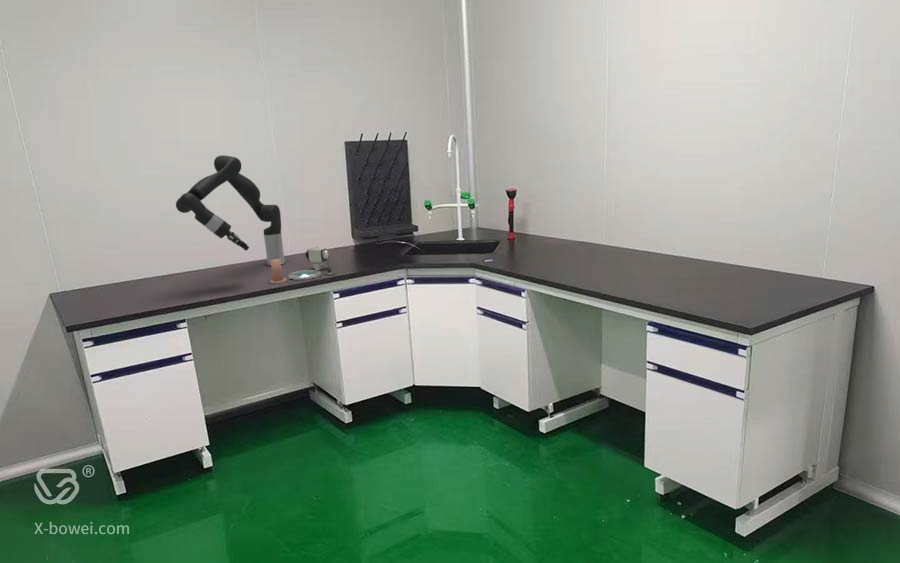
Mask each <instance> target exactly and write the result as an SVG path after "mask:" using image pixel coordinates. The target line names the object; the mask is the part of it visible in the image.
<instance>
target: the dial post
mask: <svg viewBox="0 0 900 563" xmlns="http://www.w3.org/2000/svg"><path fill="white" fill-rule="evenodd" d="M330 253H331V252H330V250H328V249H327V250H323V251H322V256H323V258H324V259H327V261H326V266H327V267H326V268H327V271H326V272H325V273H324V274H326V275H325V276H332V275H331V274H333V275H335V272H334V271H332V265H331V254H330Z"/></svg>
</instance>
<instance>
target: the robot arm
mask: <svg viewBox="0 0 900 563" xmlns="http://www.w3.org/2000/svg"><path fill="white" fill-rule="evenodd" d="M213 161H214V162H213V165H214V169H215V171H216V172H214V173H213V174H211V175H207V176H205V177H203V178H201V179H200V180H198V181H197V182H196V183H195V184H194V185H193V186H192V187H191V188H190V189H189V190H188V191H187V192H185V193H182V194H181V195H180V197H179V198H178V199H177V200H176V202H175V207H176V209H177V211H178V212H179V213H183V214H186V213H187V214H188V213H190V212H191V211H192V213H194V214H195V215H194V219H195V220H196V221H197V222H199V223H200V224H201V225H203V226H204V227H205V228H206V229H207V230H209V232H211V233H213V234H214V235H215V236H216V237H218V238H219V239H223V238H225V236H226V237H227V238H226V239H227V240H228V241H230V242H232V243H233V244H234V245H237V246H238V247H240V248H242V250H244V251H248V250H249V248H250V246H249V245H248V243H246V242H245V241H243V240H241V237H239V236H238V235H237V234H236V233H235V232H234V231H231V229H232V226H231V224H229V223H228V222H227V221H225V220H224V219H222V218H221V217H220V216H218V215H216V214H215V213H214V212H212V211H211V210H210V209H208V208H207V207H206V205H205V204H204V203H203V202H202V201H203V200H204V199H205V198H206V197H207V196H209V195H210V194H211V193H212V192H213V191H214V190H215V189H217V188H218V187H220V186H221V185H223V184H224V183H226V182H228V183H229V184H230V185H231V187H232V188H233V189H234V190H235V191H236V192H237V193H238V194H239V196H241V198H243V200H244V201H245V202H246V203H247V205H249V206H250V208H251V209H252V210H253V212H254V213H255V215H256V216H257V217H258V219H259V220H260V221H261V222H265V223H269V222H270V226H268V227H266V228H263V238H264V245H265V254H266V260H267V261H266V263H267V266H269V265H271V261H270V260H273V259H281V264H282V265H285V264H284V263H286V262H285V254H284V244H283V237H282V221H281V220H282V218H281V209H280V207H279V206H278V205H277V204H264V203H263V202H261V200H260V199H261V191H260V189H259V188H258V186H257V185H256V184H255V183H254V182H253V180H252V179H250V178H248V177H247V176H245V175H243V174H242V173H240V172H241V171H242V162H241V160H240V159H239V158H238V157H236V156H230V155H218V156H216V157H215V158H214V160H213Z"/></svg>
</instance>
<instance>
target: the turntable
mask: <svg viewBox="0 0 900 563" xmlns="http://www.w3.org/2000/svg"><path fill="white" fill-rule="evenodd" d="M320 275H322V273H321V270H314V269H304V270H297V271H293V272H290V273H288V274H287V279H288V278H289V279H288V280H290V279H293V280H292V281H308V279H309V280H313V279H312V278H314V279H316V277H317V278H319V277H321V276H320ZM318 276H319V277H318Z"/></svg>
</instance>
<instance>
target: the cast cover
mask: <svg viewBox="0 0 900 563" xmlns="http://www.w3.org/2000/svg"><path fill="white" fill-rule="evenodd" d="M270 261H271V266H270V268H271V276H272V279H270V280H269V284H270V283H281V282H285V281H287V279H288V278H286V277H284V276H283V267H282V265H281V259H273V260H270ZM285 283H286V282H285ZM281 284H282V283H281Z"/></svg>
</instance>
